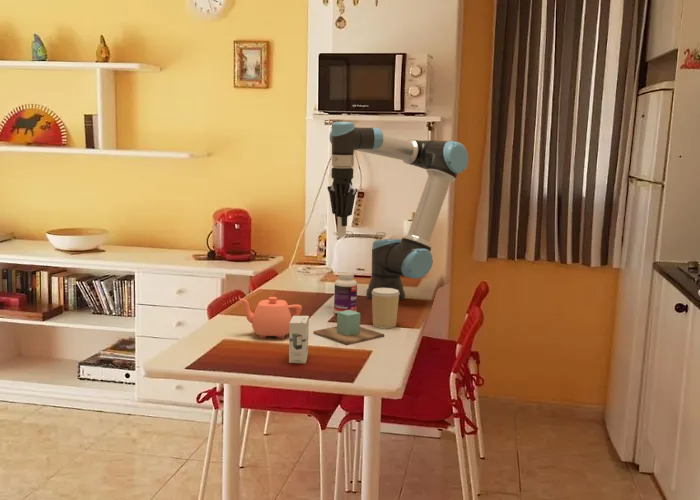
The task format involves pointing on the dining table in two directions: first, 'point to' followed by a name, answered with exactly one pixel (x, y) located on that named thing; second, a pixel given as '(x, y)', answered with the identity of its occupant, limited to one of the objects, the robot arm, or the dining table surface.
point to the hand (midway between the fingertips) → (341, 235)
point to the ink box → (298, 339)
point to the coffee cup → (385, 307)
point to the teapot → (271, 317)
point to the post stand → (351, 339)
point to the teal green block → (348, 322)
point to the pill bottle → (345, 293)
